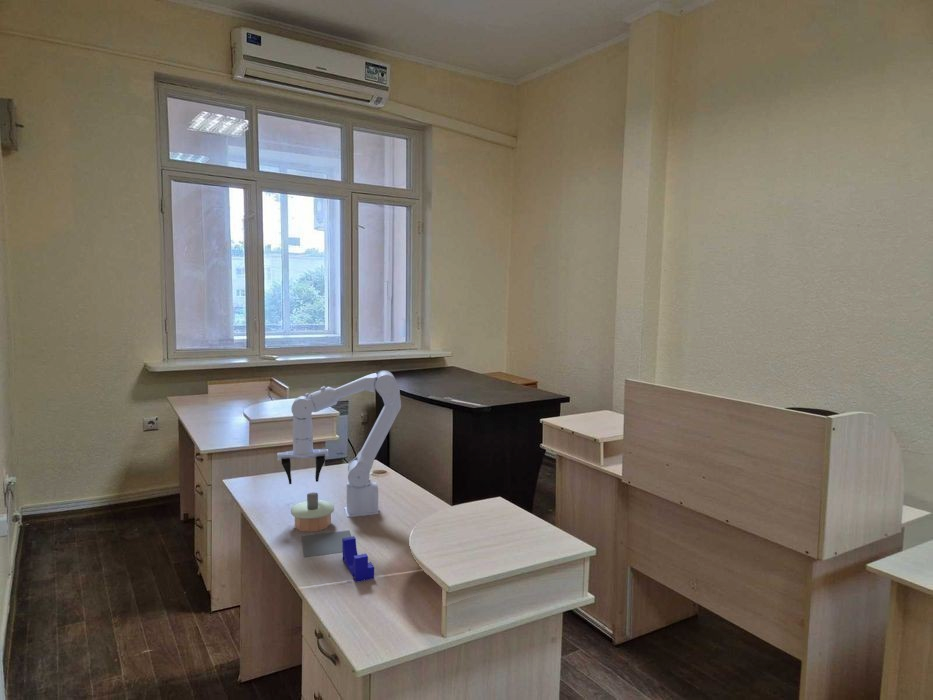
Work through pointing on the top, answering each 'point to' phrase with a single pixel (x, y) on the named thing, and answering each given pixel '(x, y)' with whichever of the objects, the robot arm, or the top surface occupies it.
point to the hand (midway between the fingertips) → (303, 481)
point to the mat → (323, 543)
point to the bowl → (312, 523)
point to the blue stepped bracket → (356, 561)
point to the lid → (312, 508)
